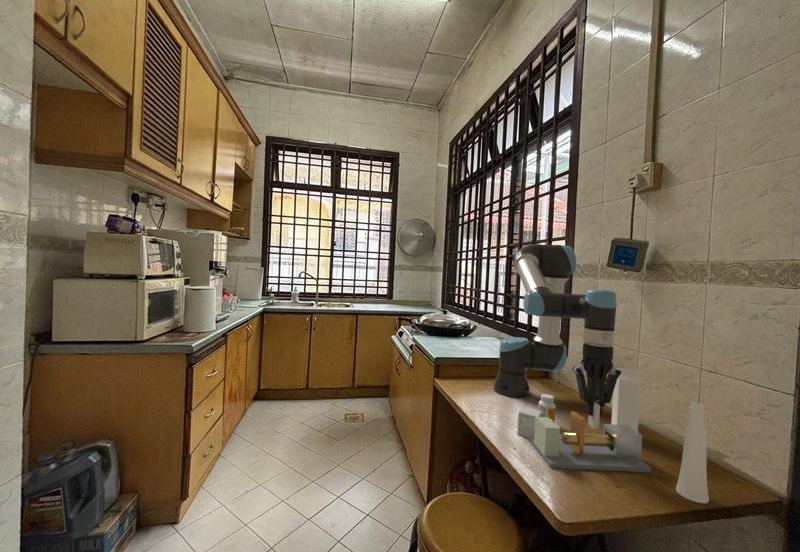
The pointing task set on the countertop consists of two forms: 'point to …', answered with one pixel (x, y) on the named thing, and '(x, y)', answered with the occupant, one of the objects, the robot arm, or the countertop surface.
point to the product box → (527, 421)
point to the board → (590, 459)
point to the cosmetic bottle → (694, 458)
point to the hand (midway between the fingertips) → (593, 426)
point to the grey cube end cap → (624, 442)
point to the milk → (626, 399)
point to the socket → (547, 436)
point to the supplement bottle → (547, 406)
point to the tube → (584, 436)
